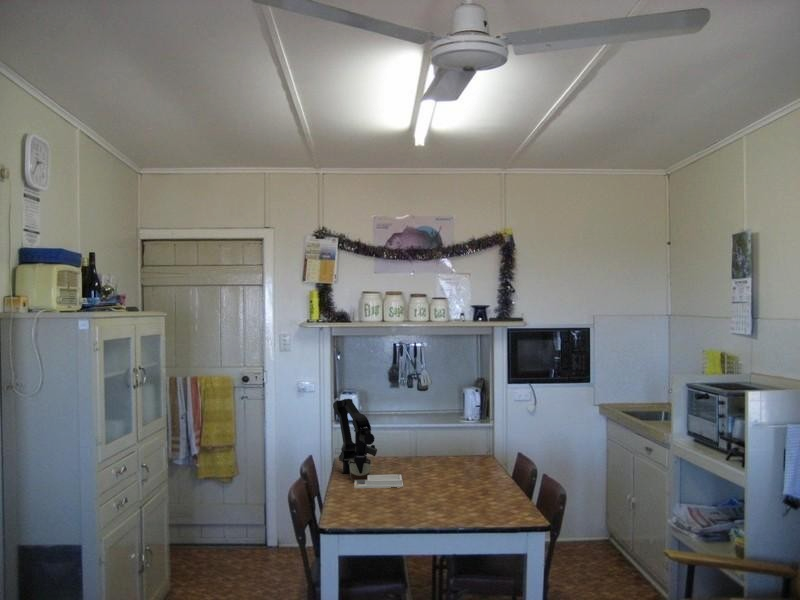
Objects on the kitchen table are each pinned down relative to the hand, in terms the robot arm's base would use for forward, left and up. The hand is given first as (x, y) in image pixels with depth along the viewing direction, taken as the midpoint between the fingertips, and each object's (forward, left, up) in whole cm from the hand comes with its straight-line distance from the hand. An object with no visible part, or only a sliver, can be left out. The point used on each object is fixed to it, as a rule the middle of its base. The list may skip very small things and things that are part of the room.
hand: (360, 471), depth 332 cm
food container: (0, 0, -4) cm, 4 cm away
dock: (+12, +9, -4) cm, 15 cm away
